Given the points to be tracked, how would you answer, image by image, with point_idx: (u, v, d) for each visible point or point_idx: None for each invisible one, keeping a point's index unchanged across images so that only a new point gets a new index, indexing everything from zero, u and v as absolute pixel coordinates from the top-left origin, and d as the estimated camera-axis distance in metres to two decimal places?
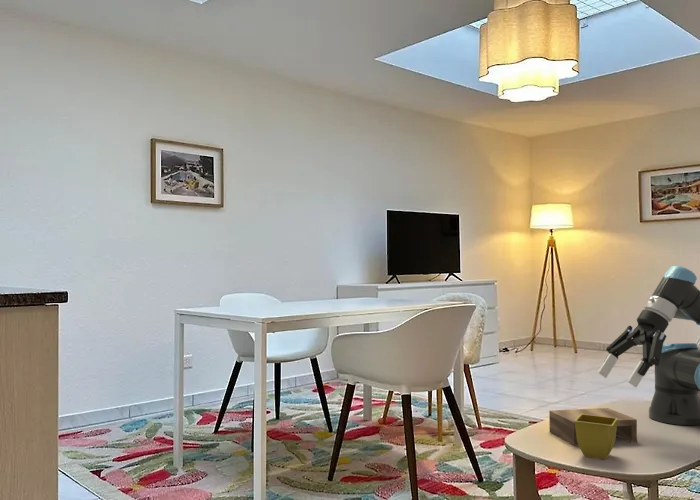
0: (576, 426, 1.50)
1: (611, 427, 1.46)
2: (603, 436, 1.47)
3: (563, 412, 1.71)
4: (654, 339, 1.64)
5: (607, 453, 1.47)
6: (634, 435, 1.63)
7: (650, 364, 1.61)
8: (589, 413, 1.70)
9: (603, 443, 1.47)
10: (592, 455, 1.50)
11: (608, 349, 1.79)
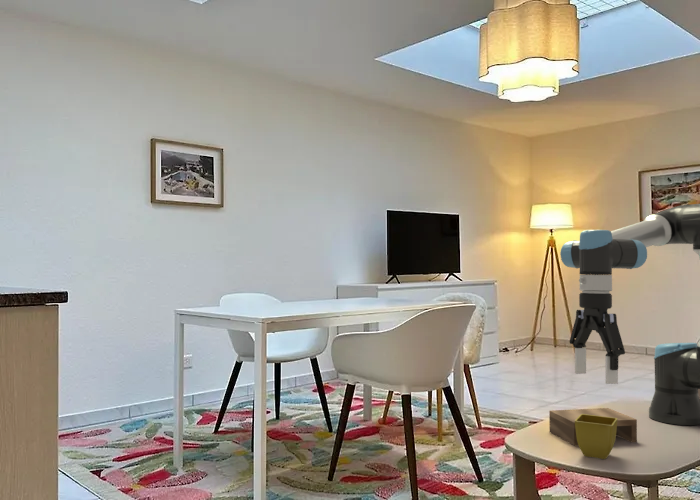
0: (576, 426, 1.50)
1: (611, 427, 1.46)
2: (603, 436, 1.47)
3: (563, 412, 1.71)
4: (606, 326, 1.46)
5: (607, 453, 1.47)
6: (634, 435, 1.63)
7: (617, 355, 1.44)
8: (589, 413, 1.70)
9: (603, 443, 1.47)
10: (592, 455, 1.50)
11: (571, 342, 1.61)
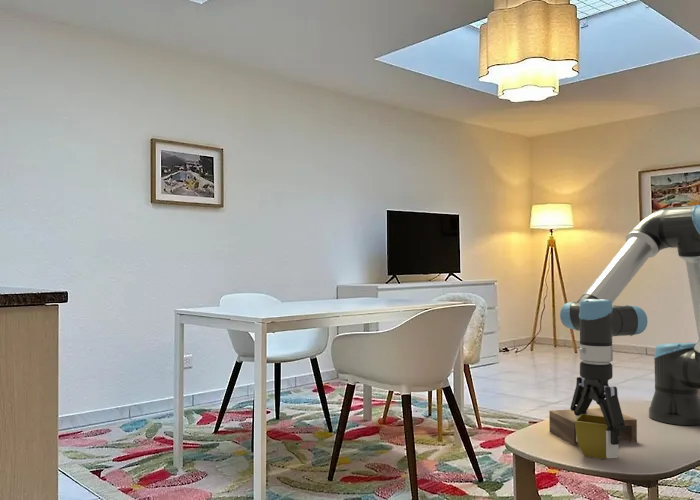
0: (576, 426, 1.50)
1: None
2: (603, 436, 1.47)
3: (563, 412, 1.71)
4: (607, 399, 1.45)
5: None
6: (634, 435, 1.63)
7: (617, 430, 1.44)
8: (589, 413, 1.70)
9: (603, 443, 1.47)
10: (592, 455, 1.50)
11: (572, 409, 1.60)
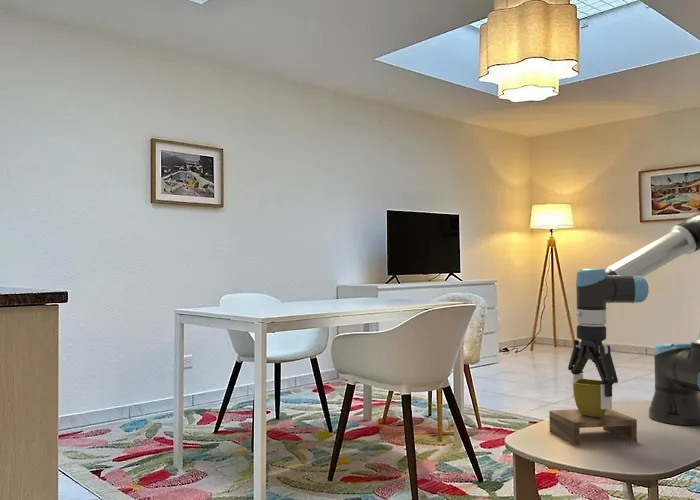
0: (574, 388, 1.66)
1: None
2: (598, 396, 1.63)
3: (563, 412, 1.71)
4: (601, 357, 1.62)
5: (602, 411, 1.63)
6: (634, 435, 1.63)
7: (611, 383, 1.60)
8: None
9: (598, 402, 1.63)
10: (588, 414, 1.66)
11: (570, 369, 1.77)
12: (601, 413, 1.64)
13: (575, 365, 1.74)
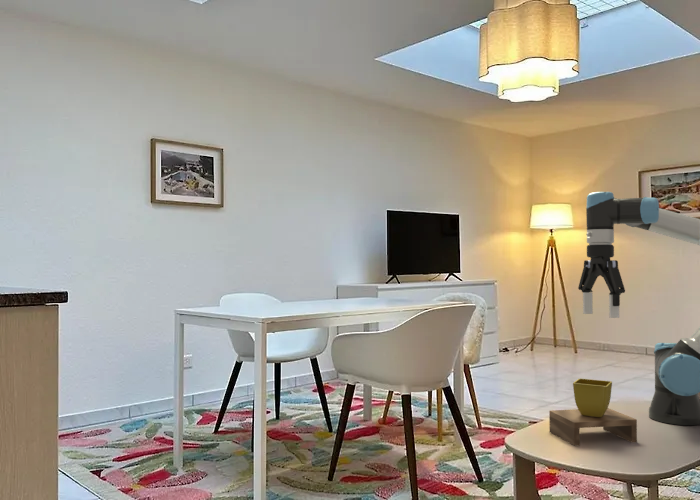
0: (574, 388, 1.66)
1: (605, 388, 1.62)
2: (598, 396, 1.63)
3: (563, 412, 1.71)
4: (609, 270, 1.77)
5: (602, 411, 1.63)
6: (634, 435, 1.63)
7: (618, 294, 1.75)
8: None
9: (598, 402, 1.63)
10: (588, 414, 1.66)
11: (580, 288, 1.92)
12: (601, 413, 1.64)
13: (585, 283, 1.89)
